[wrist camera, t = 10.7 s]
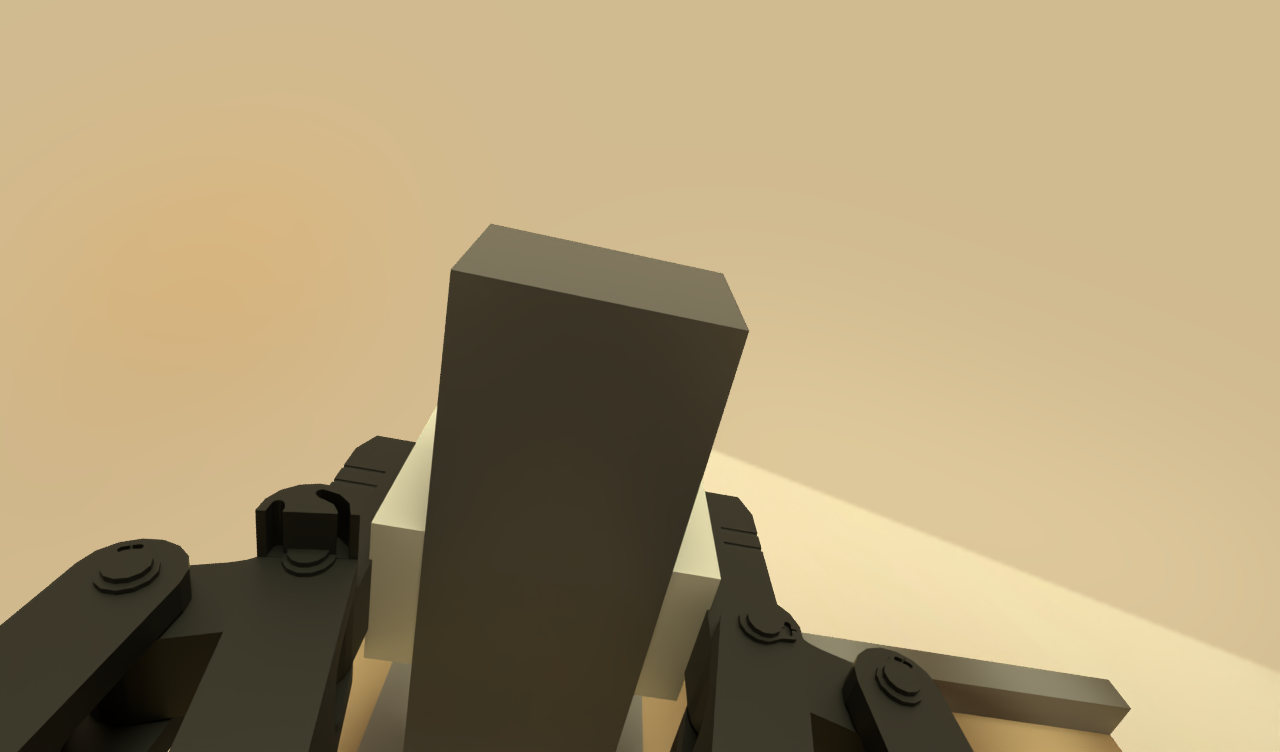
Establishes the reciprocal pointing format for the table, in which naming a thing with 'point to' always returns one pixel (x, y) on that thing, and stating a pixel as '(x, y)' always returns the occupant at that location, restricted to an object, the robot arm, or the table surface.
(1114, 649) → the table surface
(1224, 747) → the table surface
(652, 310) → the fader tab
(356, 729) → the fader console
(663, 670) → the robot arm
